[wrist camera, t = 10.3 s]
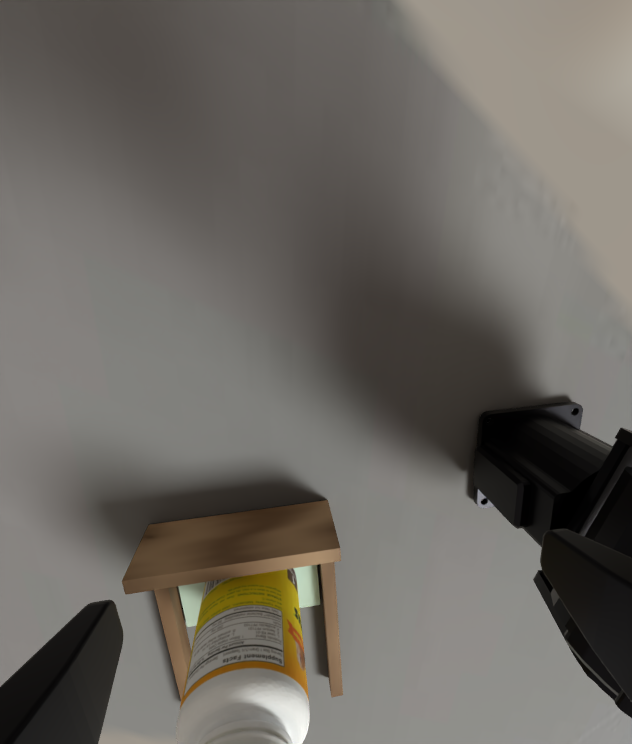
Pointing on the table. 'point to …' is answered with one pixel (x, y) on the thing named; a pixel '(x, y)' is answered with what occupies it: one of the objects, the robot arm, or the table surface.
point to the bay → (238, 568)
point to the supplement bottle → (247, 665)
